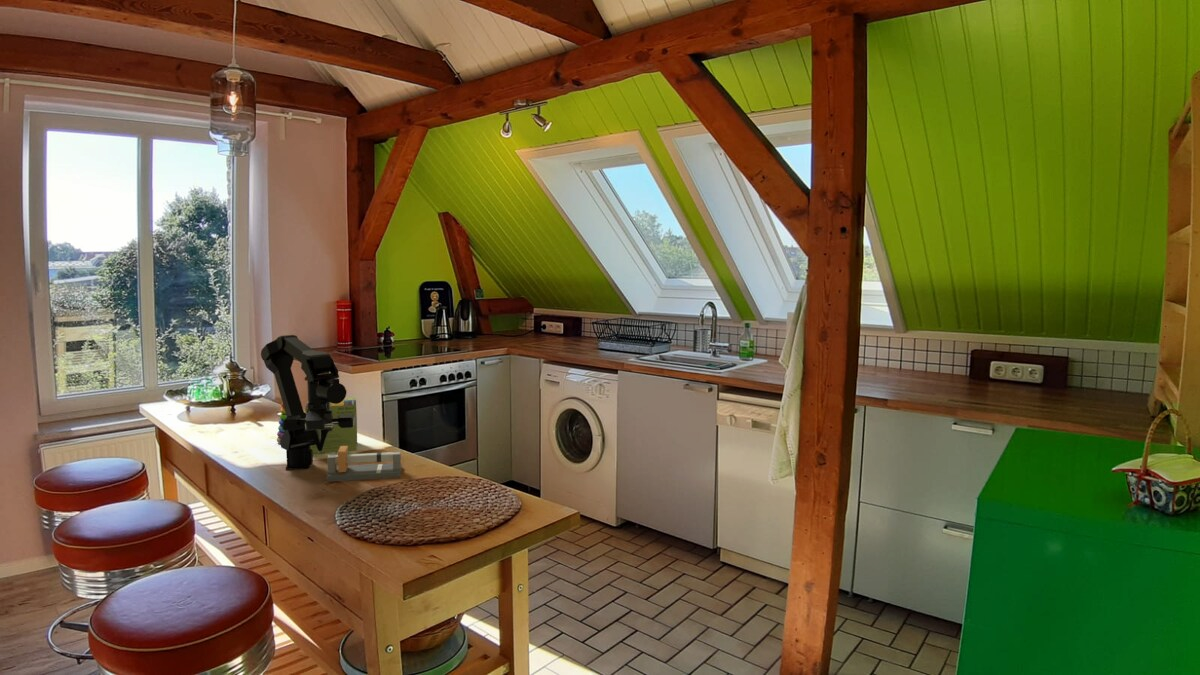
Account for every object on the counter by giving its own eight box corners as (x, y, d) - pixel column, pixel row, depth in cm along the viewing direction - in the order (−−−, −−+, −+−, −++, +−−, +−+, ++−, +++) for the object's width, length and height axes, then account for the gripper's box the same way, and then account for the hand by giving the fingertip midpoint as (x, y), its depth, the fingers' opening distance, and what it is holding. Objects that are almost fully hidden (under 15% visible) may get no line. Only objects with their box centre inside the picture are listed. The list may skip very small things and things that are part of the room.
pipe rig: (326, 481, 192) (325, 460, 191) (331, 471, 200) (330, 451, 199) (399, 477, 196) (399, 457, 195) (401, 467, 205) (401, 448, 204)
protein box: (357, 450, 221) (356, 404, 219) (306, 454, 216) (304, 407, 214) (357, 442, 231) (356, 397, 229) (308, 445, 225) (306, 400, 223)
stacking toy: (292, 445, 225) (290, 390, 222) (271, 444, 226) (269, 389, 224) (307, 439, 232) (305, 385, 230) (287, 437, 234) (284, 384, 231)
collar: (338, 472, 193) (337, 452, 193) (341, 465, 199) (340, 446, 198) (345, 472, 194) (345, 451, 193) (348, 465, 200) (347, 445, 199)
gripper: (276, 405, 182) (279, 461, 185) (350, 403, 187) (351, 457, 189) (285, 396, 193) (287, 449, 195) (354, 394, 198) (355, 446, 200)
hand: (320, 450), depth 195 cm, fingers closed
